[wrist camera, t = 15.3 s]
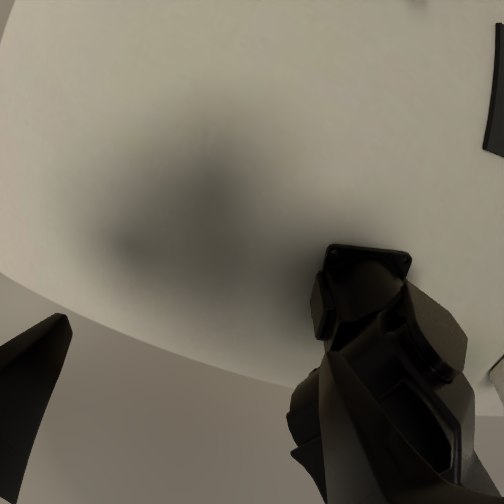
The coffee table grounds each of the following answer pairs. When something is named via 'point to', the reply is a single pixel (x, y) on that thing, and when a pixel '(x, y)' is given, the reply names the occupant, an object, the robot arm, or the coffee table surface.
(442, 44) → the coffee table surface
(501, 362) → the photo printer
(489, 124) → the mat
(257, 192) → the coffee table surface
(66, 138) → the coffee table surface
